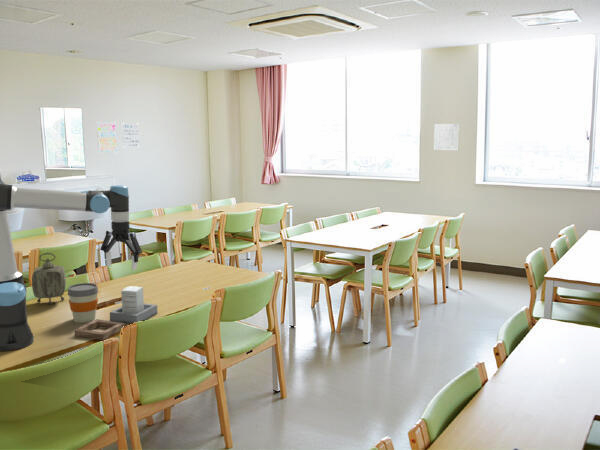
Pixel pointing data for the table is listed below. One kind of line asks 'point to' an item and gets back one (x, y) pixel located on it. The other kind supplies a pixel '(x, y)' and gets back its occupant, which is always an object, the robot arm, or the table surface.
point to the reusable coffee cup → (83, 301)
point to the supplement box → (132, 300)
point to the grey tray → (131, 318)
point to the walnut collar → (87, 333)
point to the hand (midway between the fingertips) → (121, 267)
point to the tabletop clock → (48, 280)
